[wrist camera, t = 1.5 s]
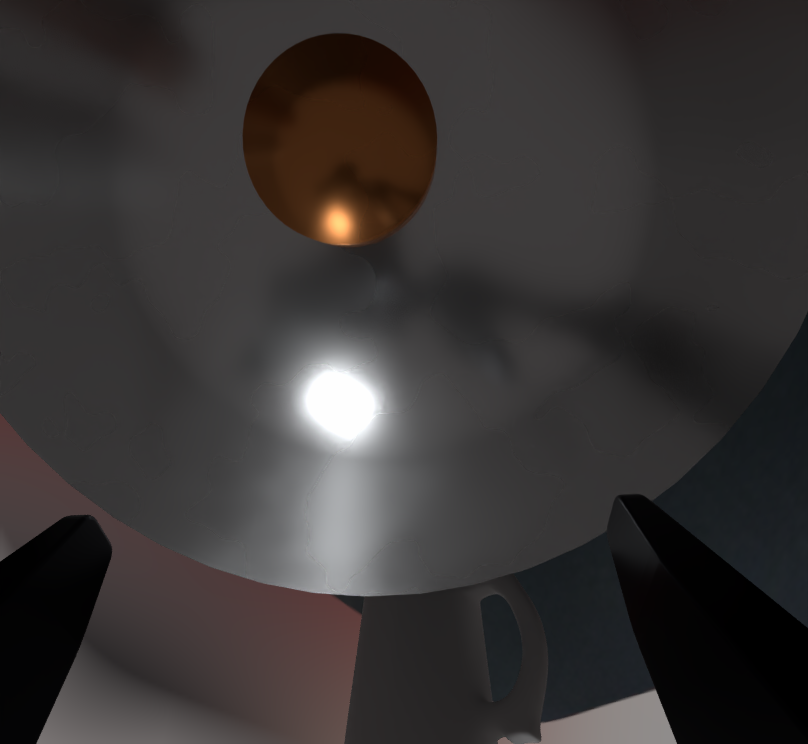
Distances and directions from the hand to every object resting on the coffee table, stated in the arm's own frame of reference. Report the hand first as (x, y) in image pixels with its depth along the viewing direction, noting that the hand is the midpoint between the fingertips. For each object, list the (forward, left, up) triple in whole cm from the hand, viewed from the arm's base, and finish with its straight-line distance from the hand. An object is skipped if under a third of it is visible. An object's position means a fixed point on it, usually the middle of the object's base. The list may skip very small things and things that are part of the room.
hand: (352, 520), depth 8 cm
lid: (0, -5, -4) cm, 7 cm away
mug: (-2, +18, -14) cm, 22 cm away
